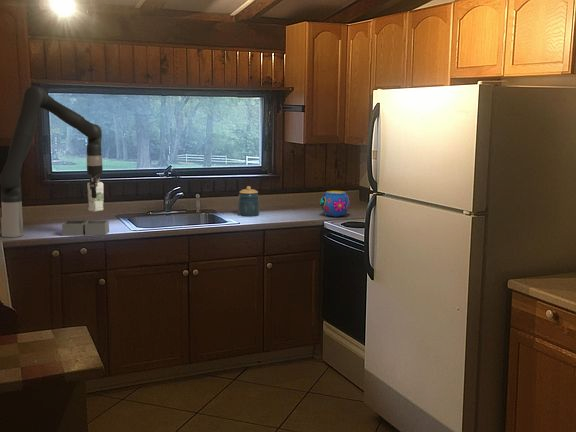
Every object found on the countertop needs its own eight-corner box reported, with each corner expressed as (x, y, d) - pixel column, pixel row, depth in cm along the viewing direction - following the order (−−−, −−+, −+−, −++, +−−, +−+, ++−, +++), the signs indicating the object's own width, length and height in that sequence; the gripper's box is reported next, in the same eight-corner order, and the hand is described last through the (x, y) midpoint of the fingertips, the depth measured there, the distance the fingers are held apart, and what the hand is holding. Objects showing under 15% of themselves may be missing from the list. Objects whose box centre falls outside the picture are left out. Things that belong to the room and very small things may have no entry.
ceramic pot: (322, 213, 404) (322, 189, 401) (350, 214, 401) (351, 190, 398) (318, 218, 386) (319, 193, 384) (348, 219, 384) (349, 193, 381)
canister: (233, 215, 395) (233, 186, 392) (248, 212, 405) (248, 184, 402) (248, 217, 387) (248, 187, 384) (263, 214, 396) (263, 186, 394)
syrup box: (97, 209, 333) (96, 181, 331) (104, 210, 330) (103, 182, 327) (87, 210, 329) (86, 182, 327) (94, 212, 325) (93, 183, 323)
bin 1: (62, 235, 325) (62, 223, 324) (67, 232, 335) (66, 220, 334) (83, 235, 326) (82, 223, 325) (87, 231, 336) (86, 220, 335)
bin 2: (85, 235, 326) (84, 223, 325) (89, 231, 336) (88, 220, 335) (105, 235, 327) (105, 223, 326) (109, 231, 337) (108, 220, 336)
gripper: (89, 163, 332) (91, 195, 335) (83, 165, 318) (85, 198, 321) (104, 163, 333) (105, 194, 336) (99, 165, 319) (100, 198, 321)
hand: (95, 196), depth 328 cm, fingers closed on syrup box, 8 cm apart
